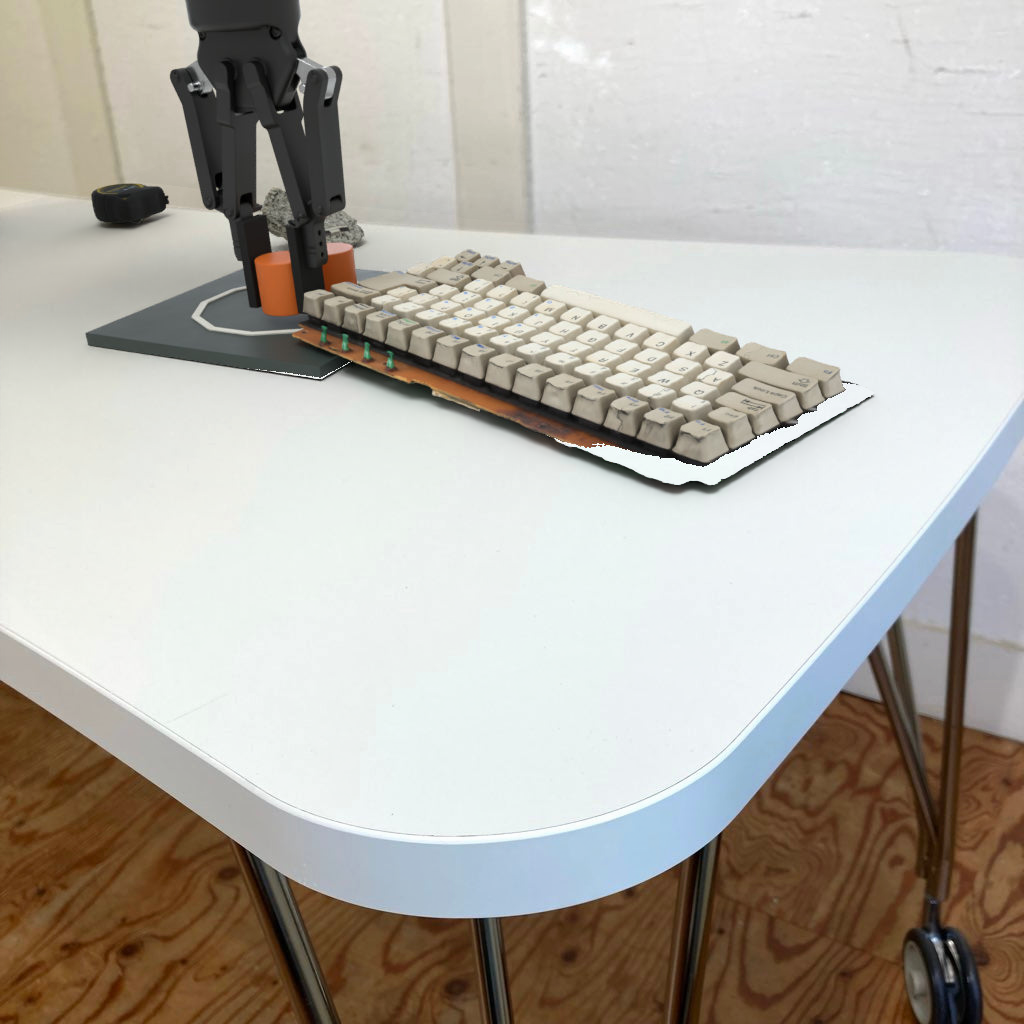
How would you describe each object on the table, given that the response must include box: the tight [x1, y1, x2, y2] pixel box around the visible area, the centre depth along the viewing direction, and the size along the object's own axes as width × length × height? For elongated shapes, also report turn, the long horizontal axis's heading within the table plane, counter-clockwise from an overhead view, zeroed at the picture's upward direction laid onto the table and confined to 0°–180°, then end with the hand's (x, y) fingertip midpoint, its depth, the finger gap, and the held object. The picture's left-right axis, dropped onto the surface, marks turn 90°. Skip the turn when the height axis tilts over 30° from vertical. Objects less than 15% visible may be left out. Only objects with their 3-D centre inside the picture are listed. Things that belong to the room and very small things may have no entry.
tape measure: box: [90, 183, 170, 225], centre depth 119 cm, size 7×7×4 cm
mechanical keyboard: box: [292, 248, 859, 467], centre depth 72 cm, size 38×19×3 cm, turn 46°
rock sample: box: [258, 187, 365, 247], centre depth 106 cm, size 10×8×9 cm
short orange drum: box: [322, 243, 357, 292], centre depth 86 cm, size 4×4×4 cm
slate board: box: [85, 268, 392, 378], centre depth 86 cm, size 22×22×1 cm
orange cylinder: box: [255, 250, 301, 316], centre depth 81 cm, size 4×4×4 cm
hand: (288, 304), depth 82 cm, fingers closed on orange cylinder, 4 cm apart
